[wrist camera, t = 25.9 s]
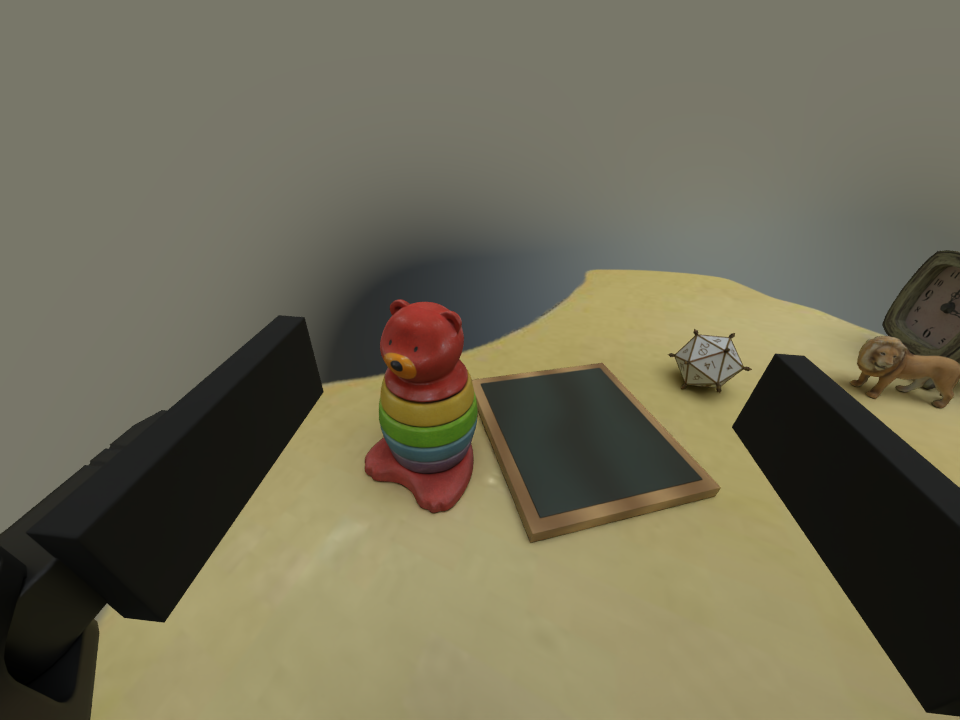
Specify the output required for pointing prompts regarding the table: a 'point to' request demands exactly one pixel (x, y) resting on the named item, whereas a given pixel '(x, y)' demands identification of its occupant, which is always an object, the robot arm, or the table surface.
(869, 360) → the lion figurine
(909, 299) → the tabletop clock
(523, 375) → the chalkboard
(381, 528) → the table surface
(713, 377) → the game die
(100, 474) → the robot arm
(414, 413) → the stacking bear
